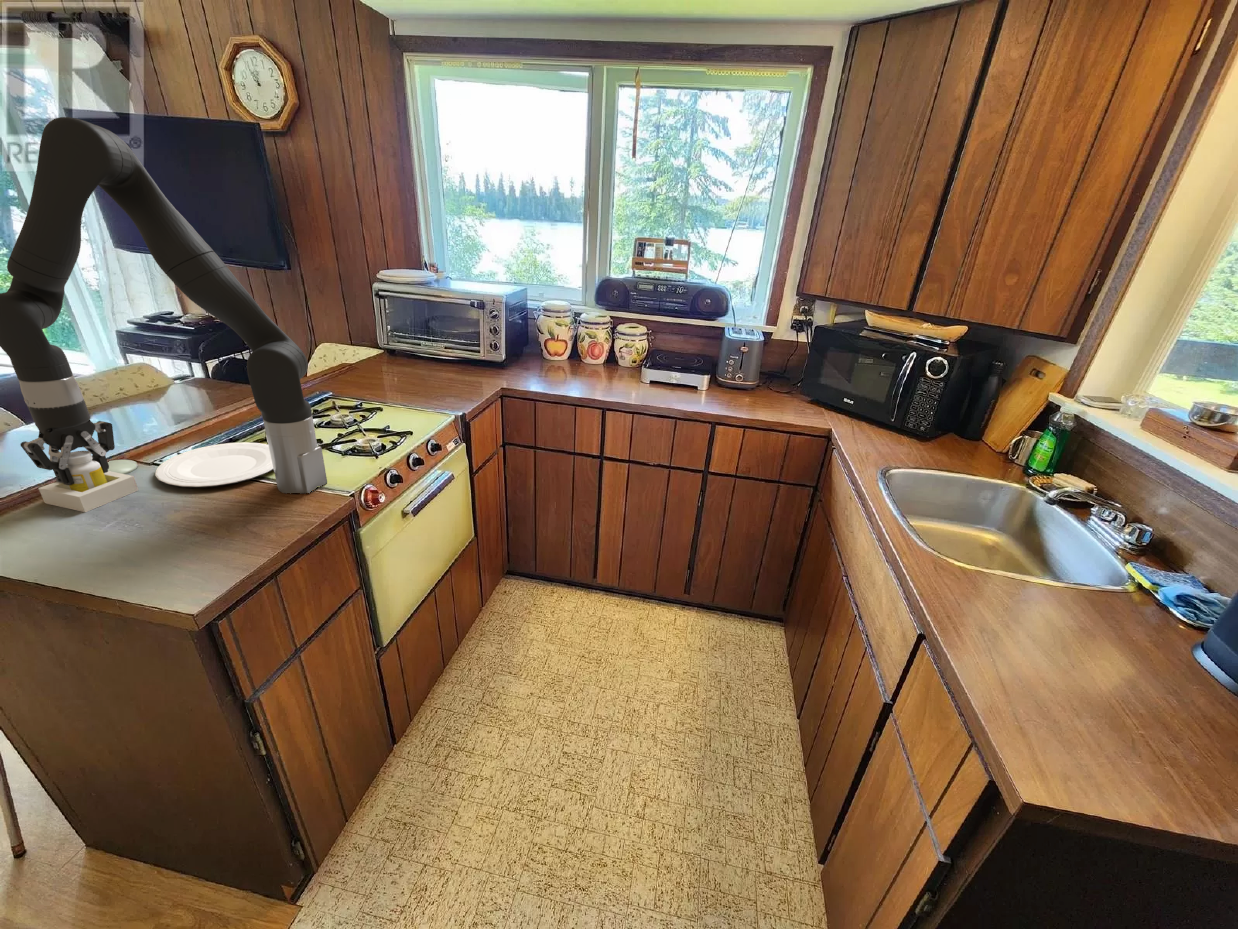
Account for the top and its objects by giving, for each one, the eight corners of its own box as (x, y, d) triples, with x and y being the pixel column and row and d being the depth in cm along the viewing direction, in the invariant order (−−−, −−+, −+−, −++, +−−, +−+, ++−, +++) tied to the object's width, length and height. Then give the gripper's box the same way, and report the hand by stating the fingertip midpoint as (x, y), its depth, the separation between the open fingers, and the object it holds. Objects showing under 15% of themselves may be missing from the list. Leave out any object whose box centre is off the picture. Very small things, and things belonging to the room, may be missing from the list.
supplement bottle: (108, 488, 108) (93, 446, 104) (113, 497, 105) (98, 455, 101) (73, 495, 104) (55, 453, 100) (77, 505, 101) (59, 462, 97)
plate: (254, 440, 136) (252, 434, 136) (306, 467, 126) (305, 460, 125) (137, 470, 116) (134, 463, 116) (187, 505, 106) (185, 497, 105)
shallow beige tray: (138, 490, 108) (132, 473, 107) (85, 512, 99) (78, 494, 98) (100, 482, 110) (94, 465, 108) (45, 503, 101) (37, 485, 99)
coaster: (147, 465, 118) (147, 463, 118) (105, 481, 110) (104, 479, 110) (116, 459, 119) (115, 457, 119) (72, 474, 111) (71, 472, 111)
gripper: (23, 414, 89) (59, 496, 96) (113, 393, 102) (138, 467, 109) (-10, 407, 90) (27, 490, 97) (83, 387, 103) (110, 461, 110)
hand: (86, 477), depth 103 cm, fingers closed on supplement bottle, 5 cm apart
